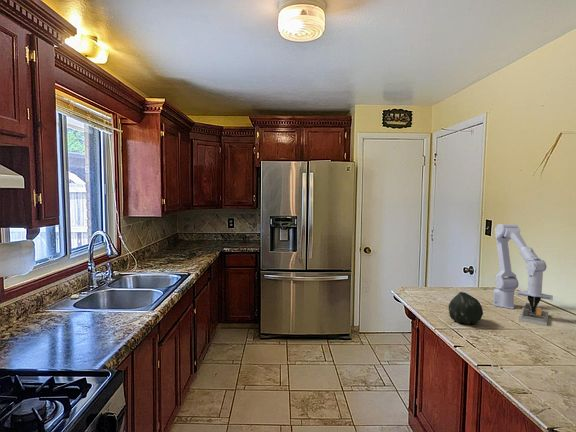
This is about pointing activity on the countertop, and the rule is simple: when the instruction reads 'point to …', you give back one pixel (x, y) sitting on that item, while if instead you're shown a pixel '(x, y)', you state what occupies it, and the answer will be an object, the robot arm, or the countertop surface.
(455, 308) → the squash
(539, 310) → the block
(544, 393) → the countertop surface
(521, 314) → the panel
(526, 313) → the breaker
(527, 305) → the block
